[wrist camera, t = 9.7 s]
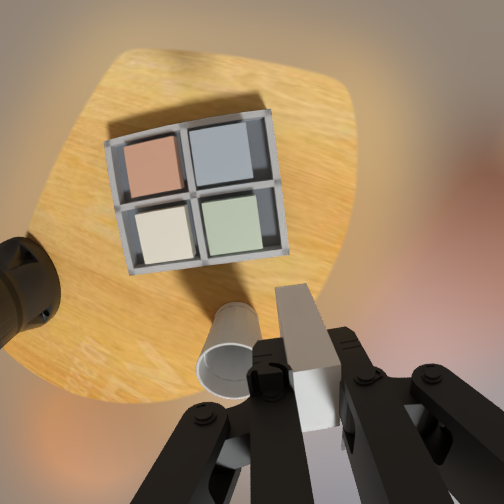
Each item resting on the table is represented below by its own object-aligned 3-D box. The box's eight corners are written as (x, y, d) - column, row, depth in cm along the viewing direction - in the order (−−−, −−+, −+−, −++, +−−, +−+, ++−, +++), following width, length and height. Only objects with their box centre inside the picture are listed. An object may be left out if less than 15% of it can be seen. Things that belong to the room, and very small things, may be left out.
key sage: (212, 250, 38) (210, 255, 36) (204, 201, 37) (201, 203, 35) (262, 244, 38) (263, 248, 36) (255, 193, 37) (255, 195, 35)
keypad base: (139, 265, 42) (129, 275, 38) (116, 142, 38) (103, 141, 34) (285, 246, 42) (289, 254, 38) (268, 114, 37) (270, 108, 33)
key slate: (200, 185, 35) (197, 186, 33) (192, 133, 34) (189, 131, 32) (253, 177, 35) (253, 177, 33) (245, 124, 33) (245, 122, 32)
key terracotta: (137, 196, 36) (131, 197, 35) (129, 147, 35) (123, 147, 33) (184, 187, 36) (181, 188, 34) (177, 137, 35) (173, 135, 33)
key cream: (150, 259, 39) (145, 264, 37) (140, 212, 37) (134, 214, 35) (196, 253, 38) (193, 257, 36) (187, 204, 37) (184, 206, 35)
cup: (196, 321, 45) (181, 371, 33) (235, 284, 43) (230, 328, 31) (237, 354, 46) (233, 409, 35) (276, 321, 45) (284, 372, 33)
